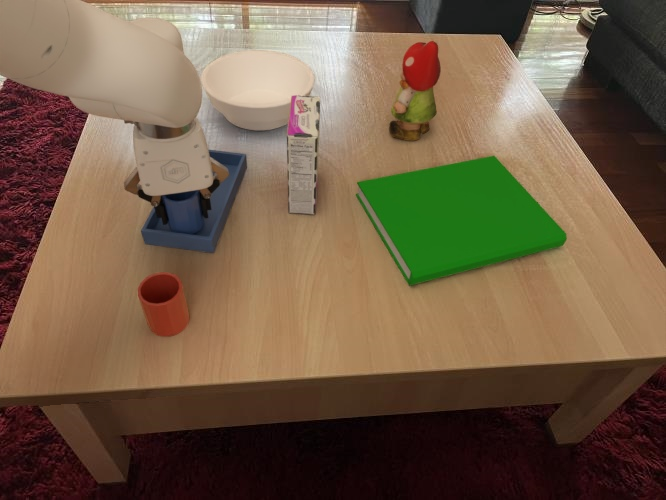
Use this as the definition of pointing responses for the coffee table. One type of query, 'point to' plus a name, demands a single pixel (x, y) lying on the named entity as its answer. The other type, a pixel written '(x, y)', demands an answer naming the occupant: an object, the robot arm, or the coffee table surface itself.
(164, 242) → the blue tray
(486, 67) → the coffee table surface
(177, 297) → the red cup
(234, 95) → the bowl
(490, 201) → the book
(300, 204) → the candy bar box
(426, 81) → the figurine
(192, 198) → the blue cup
